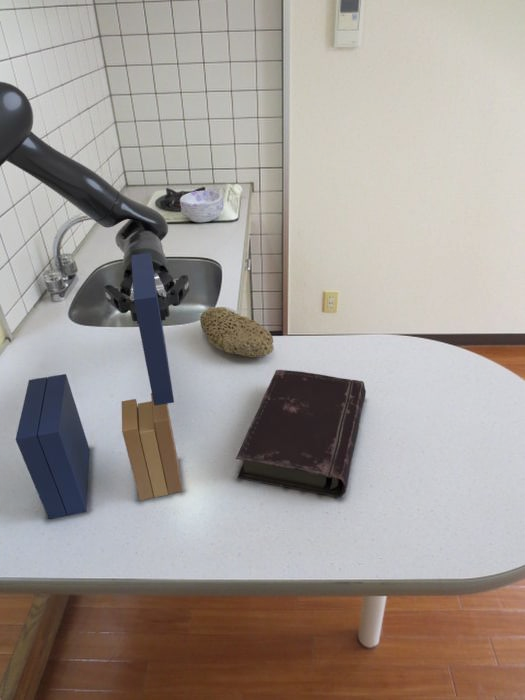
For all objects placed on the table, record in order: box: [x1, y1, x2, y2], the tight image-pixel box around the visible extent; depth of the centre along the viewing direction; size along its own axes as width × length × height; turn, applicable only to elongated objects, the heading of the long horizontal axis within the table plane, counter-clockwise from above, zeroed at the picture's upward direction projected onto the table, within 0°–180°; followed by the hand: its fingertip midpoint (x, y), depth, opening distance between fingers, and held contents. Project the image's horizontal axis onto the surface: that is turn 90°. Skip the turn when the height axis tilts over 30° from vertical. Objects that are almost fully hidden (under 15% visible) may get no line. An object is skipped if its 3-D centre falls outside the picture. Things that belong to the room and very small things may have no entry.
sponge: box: [199, 306, 274, 358], centre depth 118 cm, size 13×8×20 cm
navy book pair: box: [15, 373, 91, 520], centre depth 83 cm, size 6×14×17 cm, turn 13°
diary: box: [235, 369, 367, 498], centre depth 93 cm, size 19×25×5 cm
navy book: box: [131, 253, 175, 406], centre depth 75 cm, size 3×14×17 cm, turn 13°
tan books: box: [121, 392, 183, 501], centre depth 83 cm, size 7×7×16 cm
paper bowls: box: [179, 189, 225, 224], centre depth 187 cm, size 15×15×8 cm
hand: (150, 316), depth 76 cm, fingers closed on navy book, 3 cm apart
